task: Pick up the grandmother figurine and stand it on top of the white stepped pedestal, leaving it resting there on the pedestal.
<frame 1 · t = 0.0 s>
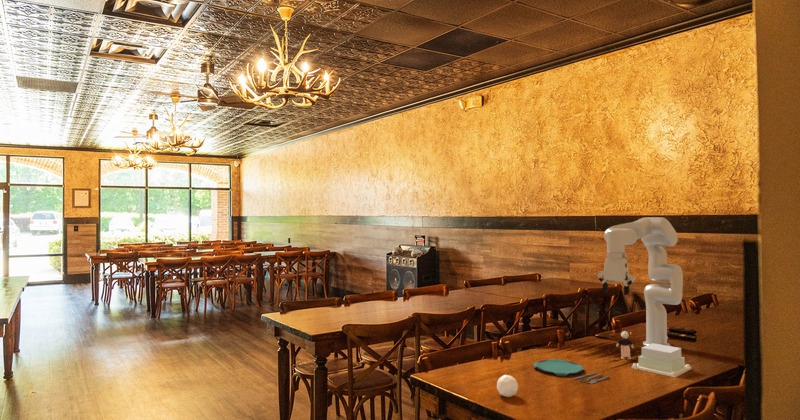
hand: (615, 293, 239), 31 cm above the table, tool pointing down, fingers open, 9 cm apart
white stepped pedestal: (661, 368, 229), on the table
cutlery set: (568, 374, 222), on the table
geometric ball: (507, 396, 193), on the table
grandmother figurine: (624, 358, 245), on the table
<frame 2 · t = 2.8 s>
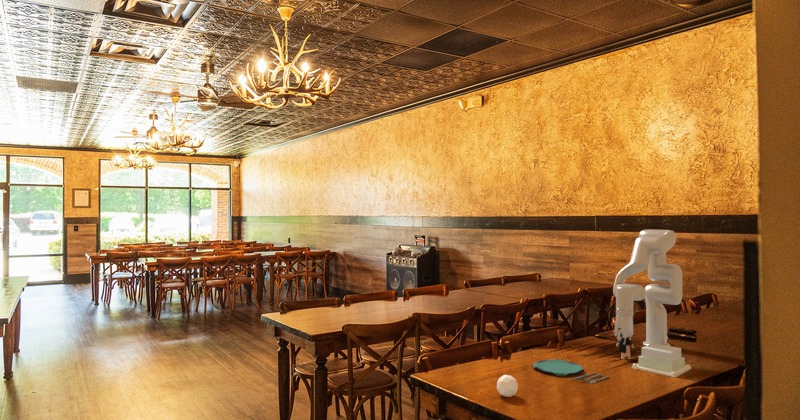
hand: (624, 351, 245), 3 cm above the table, tool pointing down, fingers closed on grandmother figurine, 3 cm apart
grandmother figurine: (624, 358, 245), on the table, touching gripper
everything else where it was.
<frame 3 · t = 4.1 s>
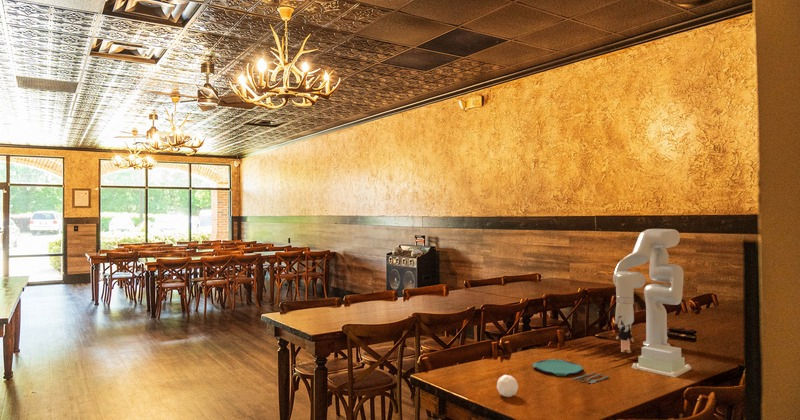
hand: (625, 338, 245), 9 cm above the table, tool pointing down, fingers closed on grandmother figurine, 3 cm apart
grandmother figurine: (624, 352, 245), point 3 cm above the table, touching gripper
everything else where it was.
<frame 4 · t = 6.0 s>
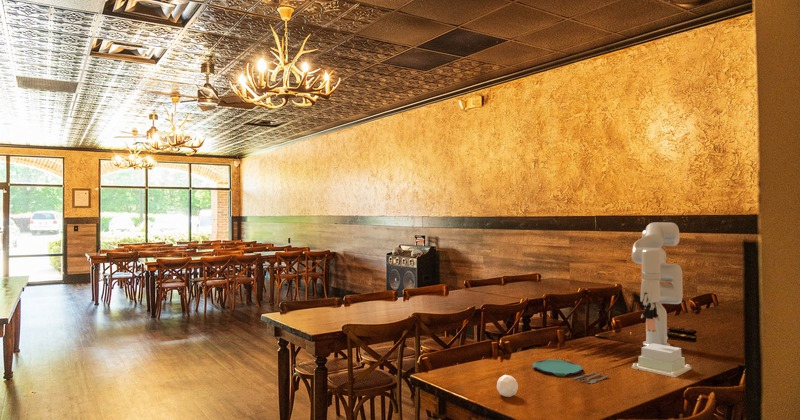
hand: (651, 317, 233), 21 cm above the table, tool pointing down, fingers closed on grandmother figurine, 3 cm apart
grandmother figurine: (649, 331, 233), point 15 cm above the table, touching gripper
everything else where it was.
when the fingers open (15 cm above the table, at t = 7.9 s): grandmother figurine stays where it is, resting on white stepped pedestal.
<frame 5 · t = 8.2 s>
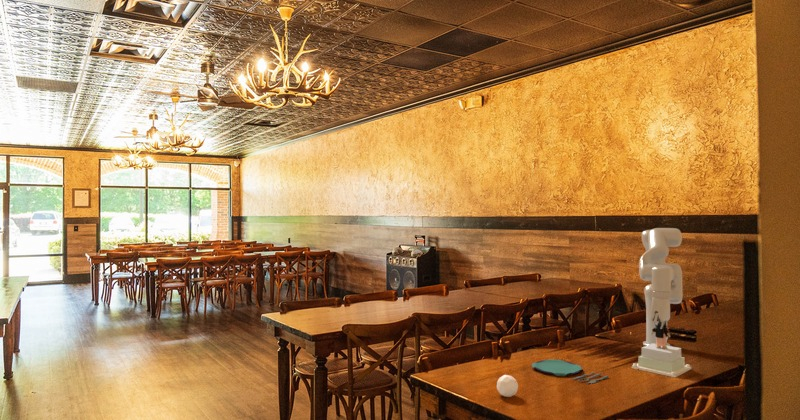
hand: (661, 336, 229), 14 cm above the table, tool pointing down, fingers open, 3 cm apart
grandmother figurine: (660, 348, 229), point 9 cm above the table, touching white stepped pedestal, gripper
everything else where it was.
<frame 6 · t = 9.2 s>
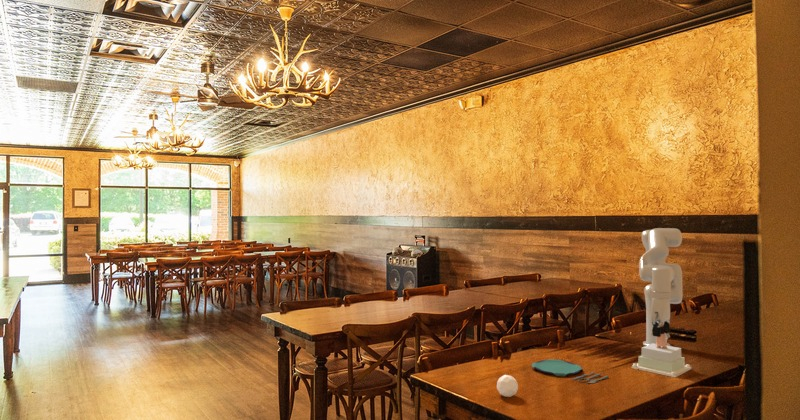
hand: (661, 334, 229), 15 cm above the table, tool pointing down, fingers open, 9 cm apart
grandmother figurine: (660, 348, 229), point 9 cm above the table, touching white stepped pedestal
everything else where it was.
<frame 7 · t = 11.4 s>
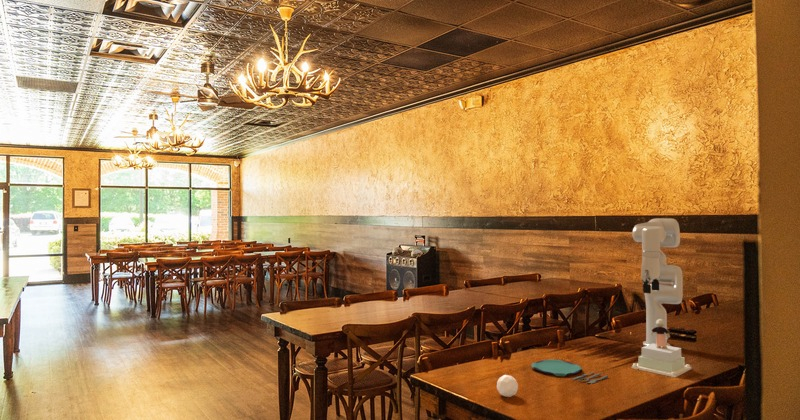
hand: (651, 291, 240), 32 cm above the table, tool pointing down, fingers open, 9 cm apart
nothing on the table moved.
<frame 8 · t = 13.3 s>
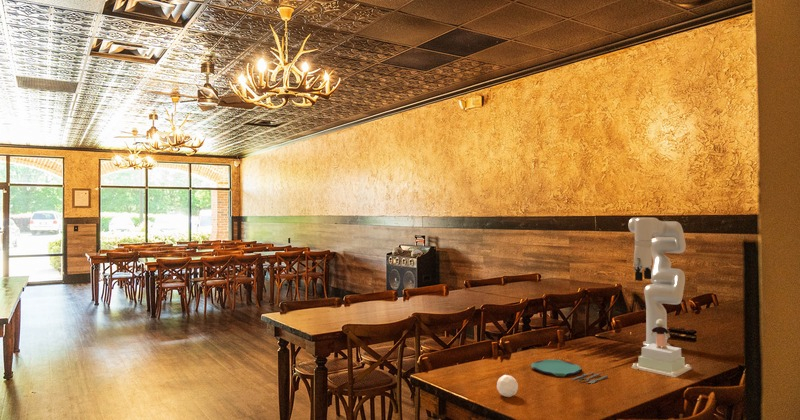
hand: (643, 279, 249), 36 cm above the table, tool pointing down, fingers open, 9 cm apart
nothing on the table moved.
at the end: grandmother figurine inside the target area on the white stepped pedestal (0.5 cm from its centre), point 8.8 cm above the white stepped pedestal's base; grandmother figurine tilted 0°; the gripper is holding nothing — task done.
